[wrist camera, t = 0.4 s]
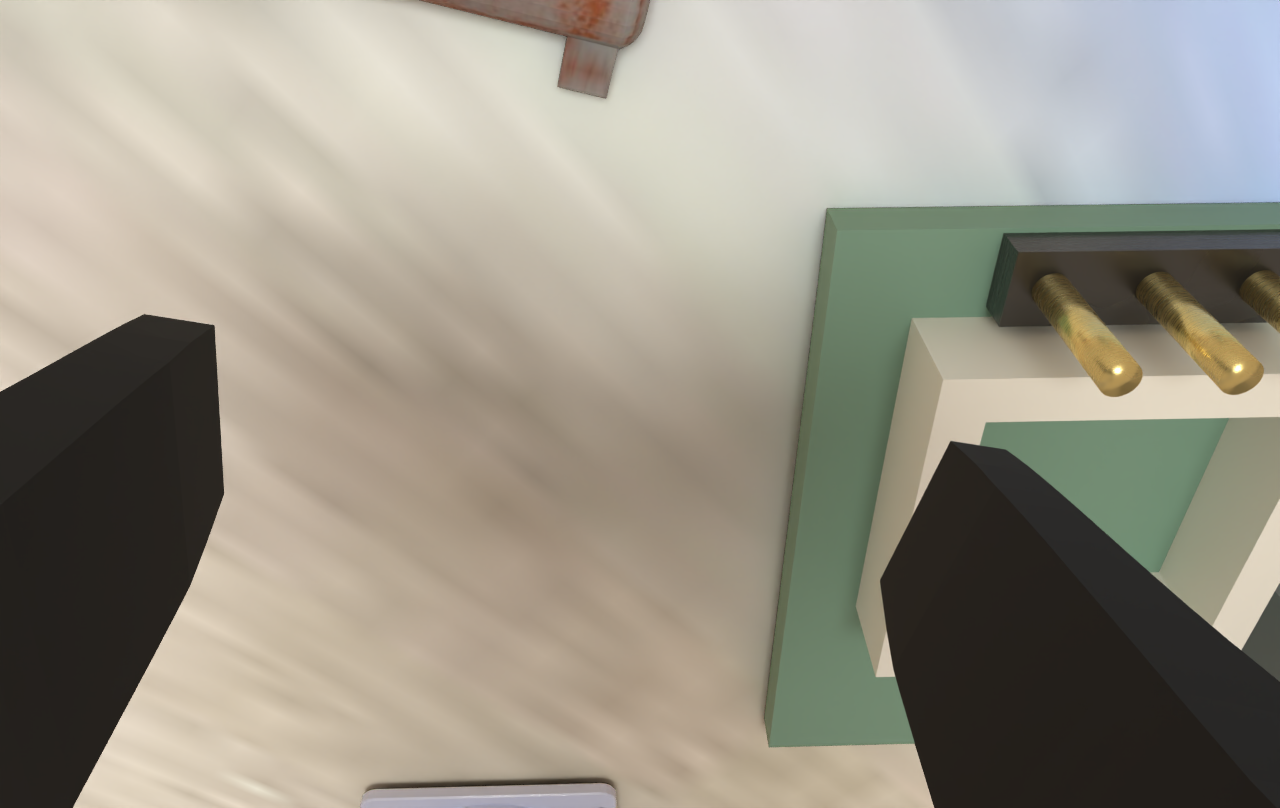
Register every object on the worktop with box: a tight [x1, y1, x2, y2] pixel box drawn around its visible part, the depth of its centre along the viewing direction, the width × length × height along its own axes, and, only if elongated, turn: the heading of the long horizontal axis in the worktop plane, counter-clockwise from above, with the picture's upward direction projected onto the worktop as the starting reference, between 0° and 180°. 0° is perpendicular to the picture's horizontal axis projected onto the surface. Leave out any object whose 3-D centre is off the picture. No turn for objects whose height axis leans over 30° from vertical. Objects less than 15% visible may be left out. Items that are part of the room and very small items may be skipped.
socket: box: [856, 317, 1280, 677], centre depth 21 cm, size 8×8×2 cm
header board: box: [764, 203, 1280, 747], centre depth 23 cm, size 16×17×1 cm
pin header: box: [986, 229, 1280, 397], centre depth 17 cm, size 2×6×4 cm, turn 90°
